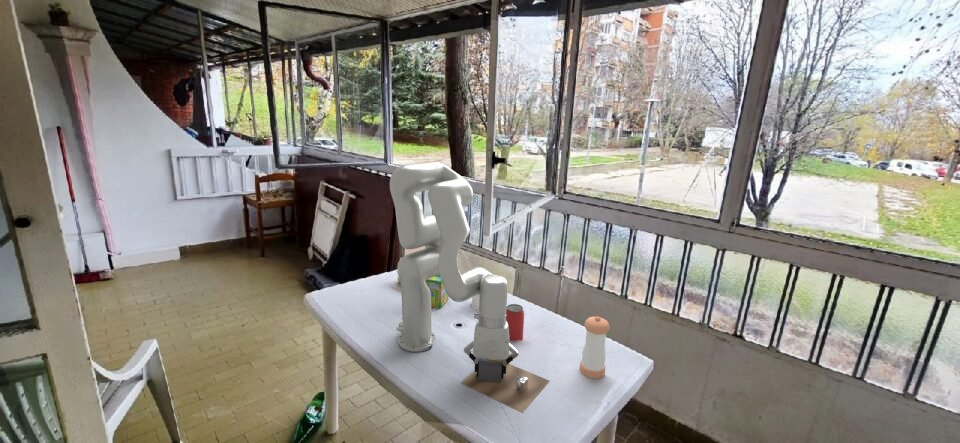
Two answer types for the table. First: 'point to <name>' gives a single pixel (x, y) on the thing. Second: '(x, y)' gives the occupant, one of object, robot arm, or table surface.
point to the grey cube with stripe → (490, 370)
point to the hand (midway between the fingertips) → (490, 374)
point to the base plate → (509, 387)
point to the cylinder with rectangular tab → (476, 301)
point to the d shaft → (521, 383)
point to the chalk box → (437, 291)
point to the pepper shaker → (594, 348)
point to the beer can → (515, 321)
